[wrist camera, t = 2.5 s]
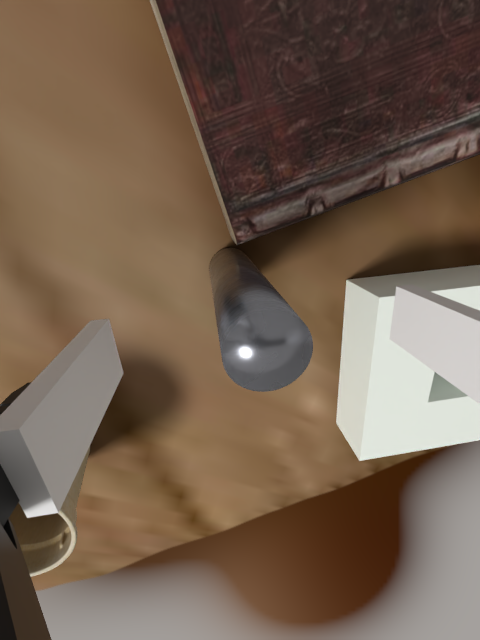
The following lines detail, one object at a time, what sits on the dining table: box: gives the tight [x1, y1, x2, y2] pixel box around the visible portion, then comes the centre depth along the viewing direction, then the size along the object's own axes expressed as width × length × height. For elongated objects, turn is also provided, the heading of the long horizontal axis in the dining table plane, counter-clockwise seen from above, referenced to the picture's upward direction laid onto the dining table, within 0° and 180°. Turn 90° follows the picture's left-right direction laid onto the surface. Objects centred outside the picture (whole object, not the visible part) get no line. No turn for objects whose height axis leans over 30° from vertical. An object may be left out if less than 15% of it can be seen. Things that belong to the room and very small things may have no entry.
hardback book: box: [150, 0, 480, 245], centre depth 17 cm, size 29×19×5 cm, turn 109°
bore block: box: [336, 265, 480, 461], centre depth 27 cm, size 16×16×5 cm
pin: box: [209, 248, 313, 392], centre depth 17 cm, size 3×3×14 cm
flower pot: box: [9, 446, 90, 577], centre depth 24 cm, size 9×9×9 cm
